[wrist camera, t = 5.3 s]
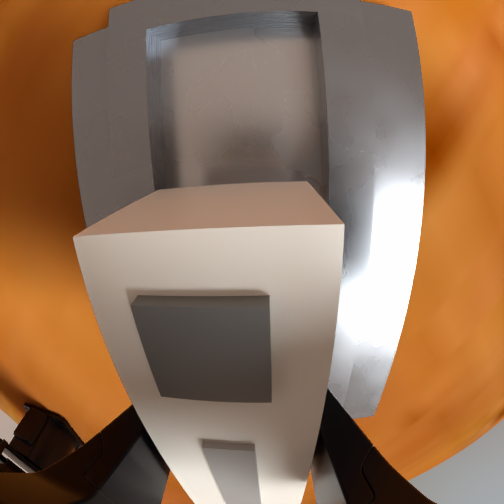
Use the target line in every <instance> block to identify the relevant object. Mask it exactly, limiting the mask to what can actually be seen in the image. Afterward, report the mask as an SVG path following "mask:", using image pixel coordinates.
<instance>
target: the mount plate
mask: <svg viewBox="0 0 504 504" xmlns="http://www.w3.org/2000/svg"><path fill="white" fill-rule="evenodd" d="M72 119H73V135H74V147H75V158H76V166H77V174H78V182H79V189H80V195H81V201H82V207H83V213H84V218H85V223H86V228H88V227H90V226H92V225H93V224H95V223H97V222H99V221H100V220H102V219H104V218H106V217H107V216H109V215H111V214H113V213H115V212H117V211H118V210H120V209H122V208H124V207H126V206H128V205H130V204H132V203H133V202H135V201H137V200H139V199H141V198H143V197H145V196H147V195H149V194H151V193H153V192H155V191H157V190H161V189H171V188H182V187H194V186H207V185H222V184H239V183H261V182H293V181H308V183H309V184H310V185H311V186H312V187H313V188H314V189H315V190H316V192H317V193H318V194H319V195H320V196H321V197H322V198H323V200H324V201H325V202H326V203H327V204H328V205H329V207H330V208H331V209H332V210H333V211H334V212H335V214H336V215H337V216H338V217H339V218H340V219H341V221H342V222H343V223H344V224H345V225H344V245H343V261H342V275H341V287H340V297H339V307H338V316H337V325H336V333H335V341H334V348H333V355H332V362H331V369H330V375H329V381H328V388H329V389H330V391H331V392H332V393H333V395H334V396H335V397H336V398H337V400H338V401H339V402H340V403H341V405H342V406H343V407H344V409H345V410H346V411H347V412H348V414H349V415H350V416H351V417H352V419H355V418H362V417H369V416H374V413H375V411H376V408H377V406H378V403H379V400H380V398H381V395H382V392H383V389H384V386H385V384H386V381H387V378H388V375H389V372H390V368H391V365H392V362H393V359H394V356H395V352H396V349H397V345H398V342H399V338H400V334H401V331H402V327H403V323H404V319H405V314H406V310H407V306H408V301H409V297H410V292H411V287H412V282H413V276H414V271H415V265H416V259H417V252H418V245H419V238H420V230H421V221H422V211H423V199H424V184H425V153H426V138H425V108H424V94H423V82H422V73H421V65H420V57H419V50H418V44H417V38H416V33H415V27H414V22H413V18H412V13H411V11H407V10H403V9H398V8H394V7H389V6H385V5H379V4H374V3H368V2H362V1H360V0H134V1H131V2H128V3H125V4H122V5H119V6H116V7H113V8H111V9H110V10H109V23H108V27H107V28H104V29H101V30H99V31H96V32H94V33H91V34H89V35H86V36H84V37H82V38H79V39H77V40H75V41H73V55H72Z"/></svg>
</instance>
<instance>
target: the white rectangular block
mask: <svg viewBox="0 0 504 504" xmlns="http://www.w3.org/2000/svg"><path fill="white" fill-rule="evenodd" d="M344 225H345V224H344V223H343V222H342V221H341V219H340V218H339V217H338V216H337V215H336V214H335V212H334V211H333V210H332V209H331V208H330V207H329V205H328V204H327V203H326V202H325V201H324V200H323V198H322V197H321V196H320V195H319V194H318V193H317V192H316V190H315V189H314V188H313V187H312V186H311V185H310V184H309V183H308V181H293V182H261V183H239V184H222V185H207V186H194V187H182V188H171V189H161V190H157V191H155V192H153V193H151V194H149V195H147V196H145V197H143V198H141V199H139V200H137V201H135V202H133V203H132V204H130V205H128V206H126V207H124V208H122V209H120V210H118V211H117V212H115V213H113V214H111V215H109V216H107V217H106V218H104V219H102V220H100V221H99V222H97V223H95V224H93V225H92V226H90V227H88V228H86V229H85V230H83V231H81V232H80V233H78V234H76V235H75V236H73V241H74V245H75V249H76V253H77V257H78V261H79V265H80V269H81V272H82V276H83V279H84V283H85V286H86V289H87V293H88V296H89V299H90V302H91V305H92V308H93V311H94V314H95V317H96V320H97V322H98V325H99V328H100V331H101V333H102V336H103V339H104V341H105V344H106V346H107V349H108V351H109V354H110V356H111V358H112V361H113V363H114V366H115V368H116V370H117V372H118V375H119V377H120V379H121V381H122V383H123V385H124V388H125V390H126V392H127V394H128V396H129V398H130V400H131V402H132V404H133V406H134V408H135V410H136V412H137V414H138V416H139V417H140V419H141V421H142V423H143V425H144V427H145V428H146V430H147V432H148V434H149V435H150V437H151V439H152V441H153V442H154V444H155V446H156V447H157V449H158V451H159V452H160V454H161V455H162V457H163V459H164V460H165V462H166V463H167V465H168V466H169V468H170V469H171V471H172V472H173V474H174V475H175V477H176V478H177V480H178V481H179V483H180V484H181V486H182V487H183V488H184V490H185V491H186V493H187V494H188V495H189V497H190V498H191V499H192V501H193V502H194V503H195V504H301V501H302V497H303V494H304V490H305V487H306V483H307V479H308V476H309V472H310V468H311V464H312V460H313V456H314V451H315V447H316V443H317V438H318V434H319V429H320V424H321V419H322V414H323V409H324V404H325V398H326V393H327V387H328V381H329V375H330V369H331V362H332V355H333V348H334V341H335V333H336V325H337V316H338V307H339V297H340V287H341V275H342V261H343V245H344Z"/></svg>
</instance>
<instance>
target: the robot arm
mask: <svg viewBox="0 0 504 504" xmlns="http://www.w3.org/2000/svg"><path fill="white" fill-rule="evenodd" d="M23 407H24V408H25V409H26V411H27V413H26V414H25V416H24V417H23V419H22V420H21V422H20V423H19V425H18V426H17V428H16V429H15V431H14V435H15V436H14V437H13V439H12V441H11V442H10V444H8V443H7V442H6V441H5V440H2V439H0V504H161V502H162V498H163V494H164V490H165V487H166V483H167V479H168V475H169V472H170V468H169V466H168V465H167V463H166V462H165V460H164V459H163V457H162V455H161V454H160V452H159V451H158V449H157V447H156V446H155V444H154V442H153V441H152V439H151V437H150V435H149V434H148V432H147V430H146V428H145V427H144V425H143V423H142V421H141V419H140V417H139V416H138V414H137V412H136V410H135V408H134V406H133V404H132V405H131V406H130V407H129V408H128V409H126V410H125V411H124V412H123V413H122V414H120V415H119V416H118V417H117V418H116V419H115V420H113V421H112V422H111V423H110V424H109V425H107V426H106V427H105V428H104V429H103V430H101V433H100V432H99V433H98V434H96V435H95V436H94V437H93V438H92V439H90V440H89V441H88V442H86V443H85V444H83V442H82V441H81V440H80V439H79V438H78V436H77V435H76V434H75V432H74V431H73V430H72V429H71V427H70V426H69V425H68V423H67V422H66V421H65V420H64V419H63V418H61V417H59V416H56V415H54V414H51V413H48V412H46V411H43V410H41V409H39V408H36V407H34V406H32V405H29V404H27V403H24V405H23ZM372 446H373V444H372V443H371V441H370V440H369V439H368V438H367V436H366V435H365V434H364V433H363V431H362V430H361V429H360V428H359V426H358V425H357V424H356V423H355V421H354V420H353V419H352V417H351V416H350V415H349V414H348V412H347V411H346V410H345V409H344V407H343V406H342V405H341V403H340V402H339V401H338V400H337V398H336V397H335V396H334V395H333V393H332V392H331V391H330V389H329V388H328V387H327V393H326V398H325V404H324V409H323V414H322V419H321V424H320V429H319V434H318V438H317V443H316V447H315V451H314V456H313V460H312V464H311V473H312V479H313V485H314V491H315V497H316V504H437V503H435V502H433V501H431V500H429V499H428V498H427V497H425V496H424V495H423V494H422V493H420V492H419V491H418V490H417V489H416V488H415V487H414V486H413V485H411V484H410V483H409V482H408V481H407V480H406V479H405V478H404V477H403V476H401V475H400V474H399V473H398V472H397V471H396V470H395V469H394V468H393V467H392V466H391V465H390V464H389V463H388V462H387V461H386V459H385V458H384V457H383V456H382V455H381V454H380V452H379V451H378V450H377V449H376V447H375V446H373V447H372ZM2 452H4V453H5V454H6V455H7V456H8V457H10V458H11V459H12V460H13V461H15V462H16V463H17V464H19V465H20V466H21V467H22V468H23V469H25V470H26V471H27V472H29V473H25V472H24V471H23V470H22V469H20V468H19V467H18V466H16V465H15V464H14V463H13V462H12V461H10V460H9V459H8V458H7V459H6V458H5V457H4V456H3V455H2Z"/></svg>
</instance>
